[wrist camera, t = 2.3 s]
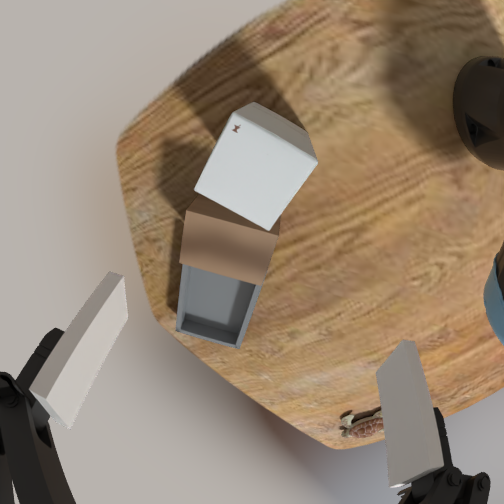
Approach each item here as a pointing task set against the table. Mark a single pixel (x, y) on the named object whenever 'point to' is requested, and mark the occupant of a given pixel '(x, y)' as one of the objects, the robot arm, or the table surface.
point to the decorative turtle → (362, 426)
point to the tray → (215, 306)
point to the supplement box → (257, 164)
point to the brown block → (226, 242)
